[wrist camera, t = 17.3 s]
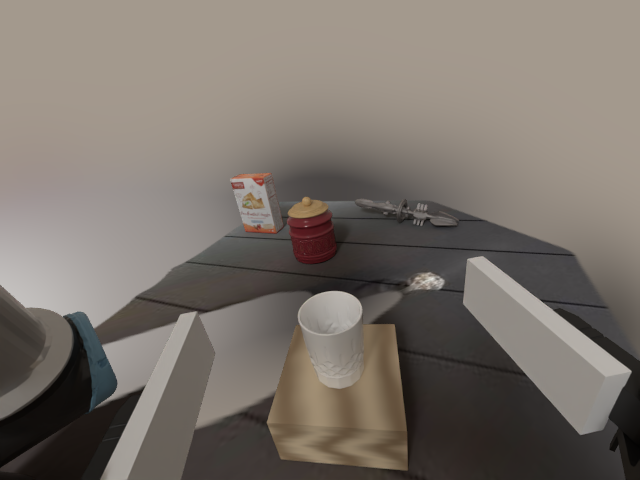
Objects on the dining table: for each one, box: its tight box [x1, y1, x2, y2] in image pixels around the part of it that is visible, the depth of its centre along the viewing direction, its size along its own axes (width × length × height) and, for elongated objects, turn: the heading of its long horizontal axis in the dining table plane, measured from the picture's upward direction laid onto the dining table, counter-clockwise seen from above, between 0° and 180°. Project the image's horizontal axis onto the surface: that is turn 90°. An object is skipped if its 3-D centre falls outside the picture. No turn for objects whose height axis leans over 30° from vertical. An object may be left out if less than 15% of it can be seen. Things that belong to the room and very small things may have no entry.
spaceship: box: [355, 199, 459, 226], centre depth 94 cm, size 8×35×8 cm
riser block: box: [267, 324, 408, 471], centre depth 41 cm, size 16×16×8 cm
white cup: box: [298, 291, 364, 389], centre depth 37 cm, size 8×8×10 cm
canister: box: [287, 197, 337, 264], centre depth 81 cm, size 13×13×18 cm
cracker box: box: [230, 173, 284, 233], centre depth 103 cm, size 14×6×21 cm, turn 67°
